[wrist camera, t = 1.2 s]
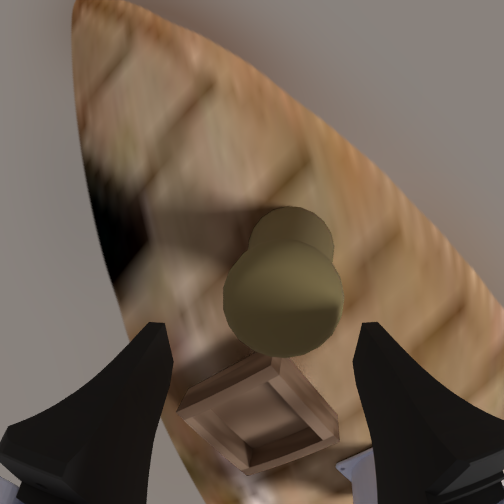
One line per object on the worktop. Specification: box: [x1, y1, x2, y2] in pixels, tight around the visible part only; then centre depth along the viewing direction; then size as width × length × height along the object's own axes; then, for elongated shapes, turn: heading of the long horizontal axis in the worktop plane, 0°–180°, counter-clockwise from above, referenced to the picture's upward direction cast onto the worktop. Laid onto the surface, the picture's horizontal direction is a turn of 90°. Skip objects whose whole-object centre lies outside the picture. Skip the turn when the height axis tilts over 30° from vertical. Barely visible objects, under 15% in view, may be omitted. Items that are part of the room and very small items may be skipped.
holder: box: [176, 352, 340, 476], centre depth 25 cm, size 10×10×4 cm
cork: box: [223, 207, 344, 358], centre depth 18 cm, size 6×6×11 cm
